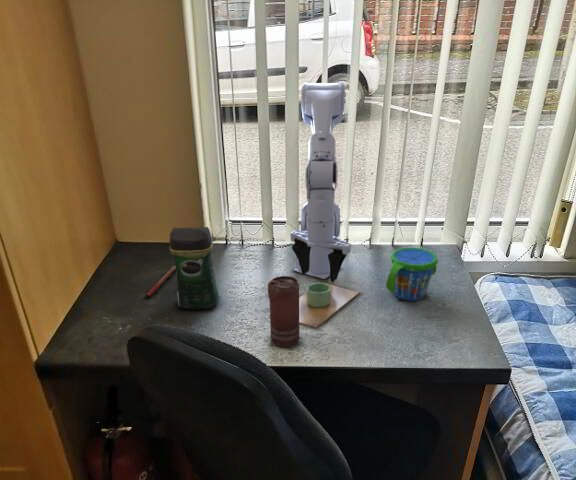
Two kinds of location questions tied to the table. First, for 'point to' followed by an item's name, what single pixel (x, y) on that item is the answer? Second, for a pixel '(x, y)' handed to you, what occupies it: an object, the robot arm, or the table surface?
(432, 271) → the snack cup
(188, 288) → the coffee jar
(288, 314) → the can
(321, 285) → the bowl
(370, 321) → the table surface
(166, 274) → the pencil
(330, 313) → the mat
